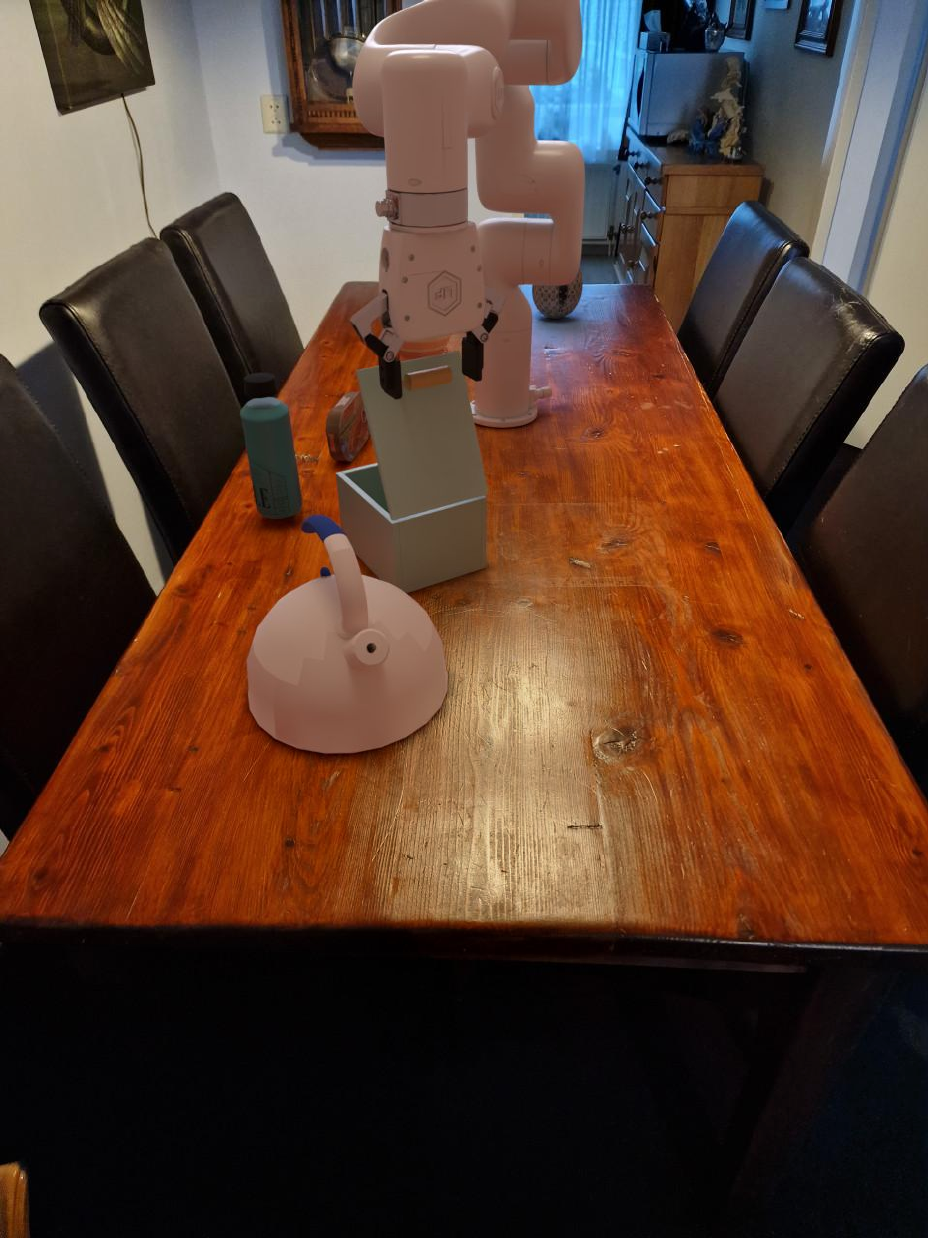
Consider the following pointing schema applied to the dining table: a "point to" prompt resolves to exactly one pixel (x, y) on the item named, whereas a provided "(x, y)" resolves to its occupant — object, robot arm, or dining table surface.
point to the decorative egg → (558, 298)
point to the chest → (410, 534)
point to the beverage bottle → (270, 449)
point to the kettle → (344, 659)
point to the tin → (347, 427)
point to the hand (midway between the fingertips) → (433, 386)
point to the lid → (424, 436)
